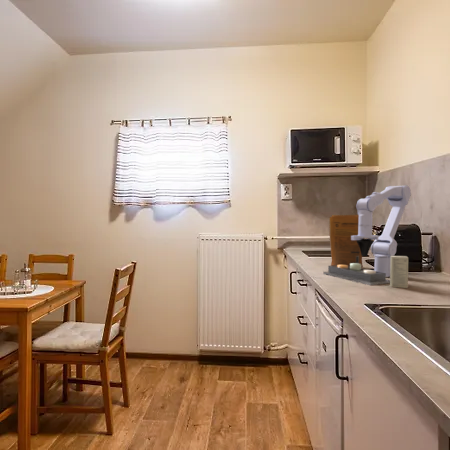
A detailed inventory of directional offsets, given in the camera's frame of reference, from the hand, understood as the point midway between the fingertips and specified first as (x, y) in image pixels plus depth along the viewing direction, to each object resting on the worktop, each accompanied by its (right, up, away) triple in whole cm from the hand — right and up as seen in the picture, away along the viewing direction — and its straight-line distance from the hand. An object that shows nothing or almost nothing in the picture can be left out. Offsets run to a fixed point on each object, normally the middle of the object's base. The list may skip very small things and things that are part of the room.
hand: (364, 256), depth 162 cm
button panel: (-4, -10, +1) cm, 11 cm away
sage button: (-4, -7, +1) cm, 8 cm away
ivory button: (0, -9, -6) cm, 11 cm away
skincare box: (+8, -11, -16) cm, 21 cm away
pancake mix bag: (+4, -9, +34) cm, 36 cm away
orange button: (-7, -8, +8) cm, 14 cm away
